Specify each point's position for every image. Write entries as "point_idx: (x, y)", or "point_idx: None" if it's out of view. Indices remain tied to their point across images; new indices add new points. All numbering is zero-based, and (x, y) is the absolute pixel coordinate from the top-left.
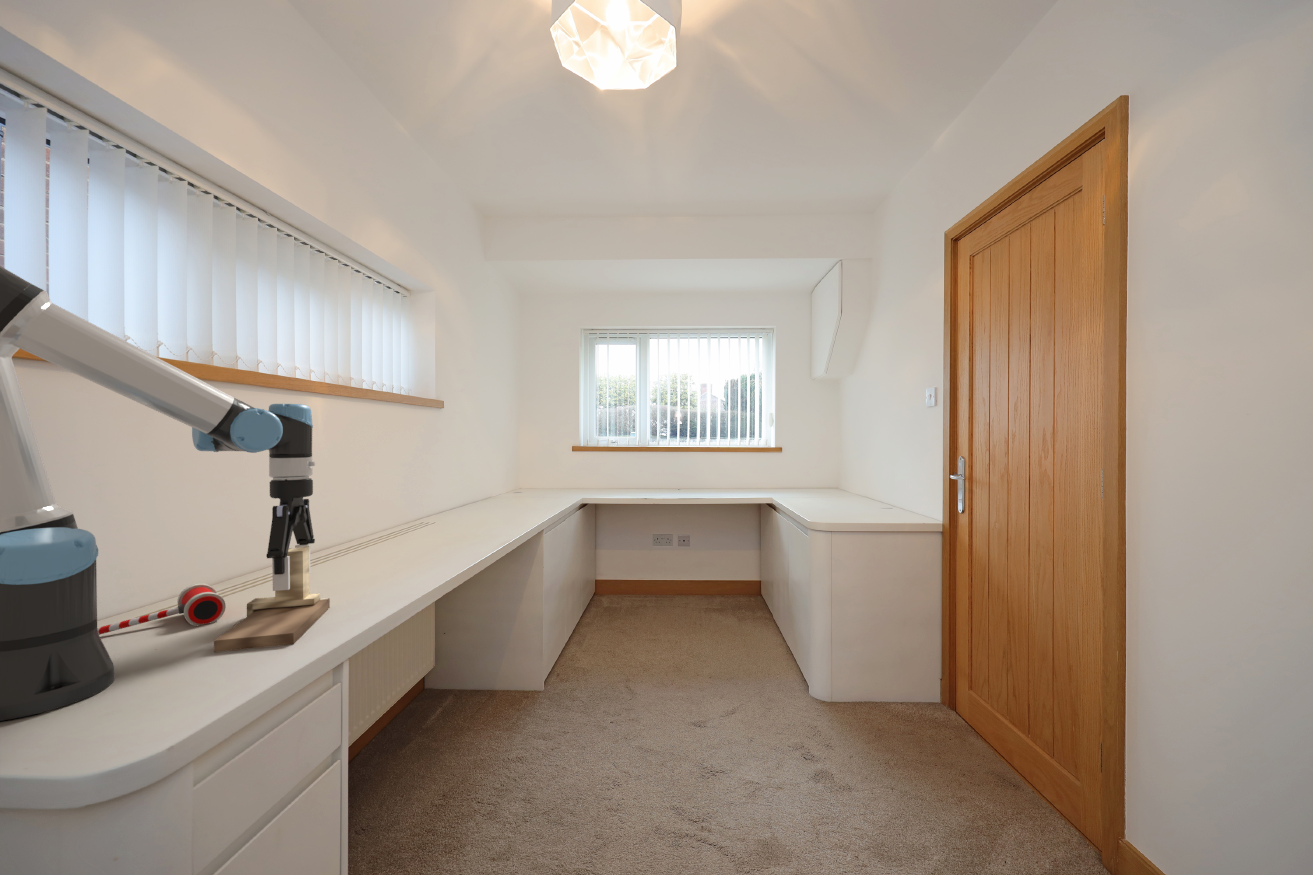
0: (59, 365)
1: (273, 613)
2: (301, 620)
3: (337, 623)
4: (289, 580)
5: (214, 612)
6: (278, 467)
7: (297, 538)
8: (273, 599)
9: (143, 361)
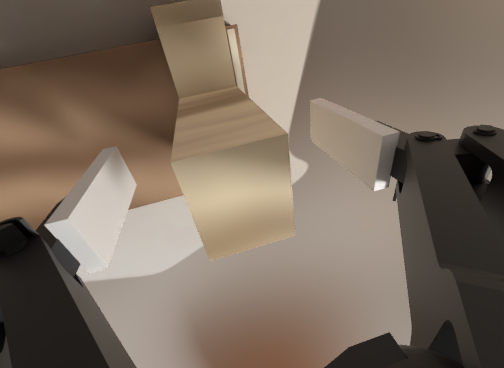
0: None
1: (140, 113)
2: None
3: (155, 228)
4: (129, 200)
5: None
6: None
7: (408, 167)
8: (203, 76)
9: None
